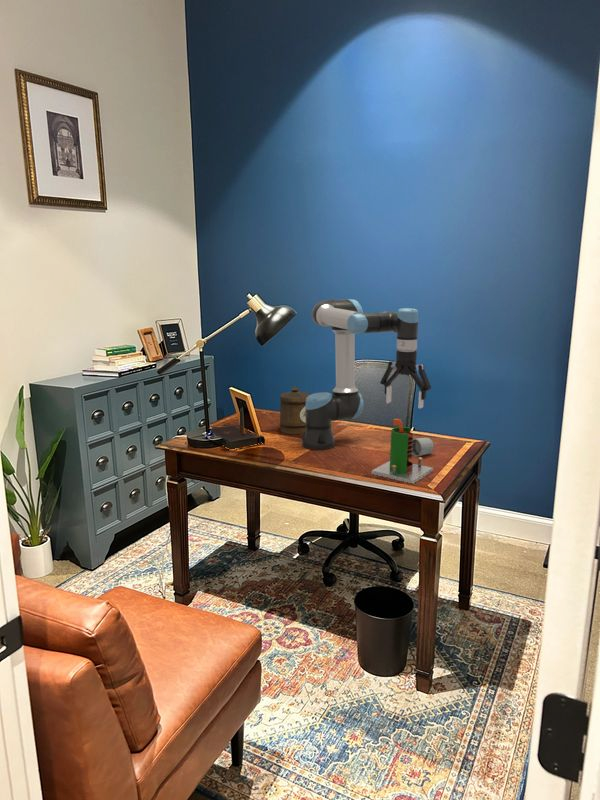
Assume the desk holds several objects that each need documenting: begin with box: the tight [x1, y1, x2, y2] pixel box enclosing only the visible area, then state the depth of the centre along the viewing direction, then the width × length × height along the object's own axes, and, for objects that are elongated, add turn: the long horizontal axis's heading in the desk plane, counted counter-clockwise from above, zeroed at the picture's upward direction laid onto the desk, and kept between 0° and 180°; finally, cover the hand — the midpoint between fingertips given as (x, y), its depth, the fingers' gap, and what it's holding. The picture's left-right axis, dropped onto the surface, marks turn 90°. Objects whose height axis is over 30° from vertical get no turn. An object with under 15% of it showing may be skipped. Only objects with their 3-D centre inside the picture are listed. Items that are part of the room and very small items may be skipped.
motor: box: [389, 418, 415, 473], centre depth 235 cm, size 10×9×20 cm
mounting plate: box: [371, 456, 434, 485], centre depth 237 cm, size 18×17×5 cm
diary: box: [209, 424, 266, 449], centre depth 280 cm, size 19×25×5 cm
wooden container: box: [279, 386, 311, 435], centre depth 295 cm, size 15×15×22 cm
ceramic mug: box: [412, 437, 435, 458], centre depth 260 cm, size 11×8×8 cm
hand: (404, 405), depth 231 cm, fingers open, 13 cm apart
